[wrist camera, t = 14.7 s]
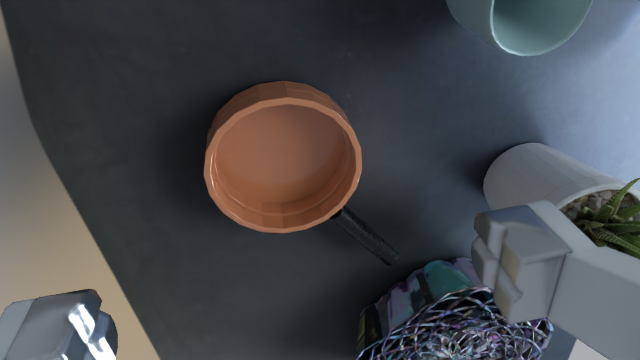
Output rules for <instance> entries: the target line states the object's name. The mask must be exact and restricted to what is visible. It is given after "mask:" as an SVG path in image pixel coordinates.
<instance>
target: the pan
mask: <svg viewBox="0 0 640 360" xmlns="http://www.w3.org/2000/svg"><path fill="white" fill-rule="evenodd" d="M361 171H362V155H361V147H360V145H359V142H358V140H357V138H356V135H355V133H354V131H353V128H352V126H351V125H350V123H349V121H348V119H347V117H346V115H345V113H344V111H343V110H342V109H341V108H340V107H339V106H338V105H337V104H336V102H335V101H334V100H333V99H332V98H331V97H330V96H329V95H327V94H325V93H323V92H321V91H319V90H317V89H315V88H313V87H312V86H310V85H307V84H302V83H296V82H289V81H277V82H270V83H263V84H257V85H255V86H253V87H251V88H249V89H247V90H245V91H242V92H240V93H238V94H236V95H235V96H234V97H233V98H232V99H231V100H230V101H229V102H227V103H226V104H225V105H224V106H223V107H222V108H221V109H220V110H219V111H218V113H217V114H216V116H215V118H214V120H213V122H212V124H211V126H210V128H209V130H208V134H207V143H206V153H205V163H204V173H203V174H204V178H205V182H206V185H207V189H208V192H209V195H210V197H211V198H212V199H213V201H214V202H215V203H216V205H217V206H218V207H219V209H220V210H221V211H222V212H223V213H224V214H225V215H227V216H228V217H230V218H231V219H232V220H234V221H235V222H237V223H238V224H240V225H242V226H245V227H248V228H251V229H254V230H257V231H260V232H271V233H288V232H294V231H300V230H305V229H308V228H310V227H313V226H315V225H317V224H319V223H322V222H324V221H326V220H327V219H329V218H330V217H331V216H332V215H334V214H335V213H336V212H337V211H339V210H340V209H341V208H342V207H343V206H344V205H345V204H346V202H347V201H348V199H349V198H350V197H351V195H352V194H353V192H354V191H355V189H356V187H357V184H358V181H359V178H360V174H361Z"/></svg>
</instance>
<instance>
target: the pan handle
mask: <svg viewBox="0 0 640 360" xmlns="http://www.w3.org/2000/svg"><path fill="white" fill-rule="evenodd" d="M330 219H331V220H333V221H334V222H335V223H336V224H337V225H339V226H340V227H341V228H342V229H343V230H345V231H346V232H347V233H348V234H349V235H351V236H352V237H353V238H354V239H355V240H357V241H358V242H359V243H360V244H362V245H363V246H364V247H365V248H366V249H368V250H369V251H370V252H371V253H372V254H374V255H375V256H376V257H377V258H378V259H380V260H381V261H382V262H383V263H384V264H386V265H387V266H391V265H394V264H395V263H396V262H397V261H398V259H399V253H398V251H397V250H396V249H394V248H393V247H392V246H391V245H390V244H389V243H388V242H386V241H385V240H384V239H383V238H382V237H381V236H380V235H378V234H377V233H376V232H375V231H374V230H373V229H372V228H370V227H369V226H368V225H367V224H366V223H365V222H364V221H362V220H361V219H360V218H359V217H358V216H357V215H356V214H354V213H353V212H352V211H351V210H350V209H349V208H348V207H346V206H345V205H344V206H343V207H342V208H341V209H340V210H339V211H337V212H336V213H335V214H334V215H332V216H331V217H330Z"/></svg>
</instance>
